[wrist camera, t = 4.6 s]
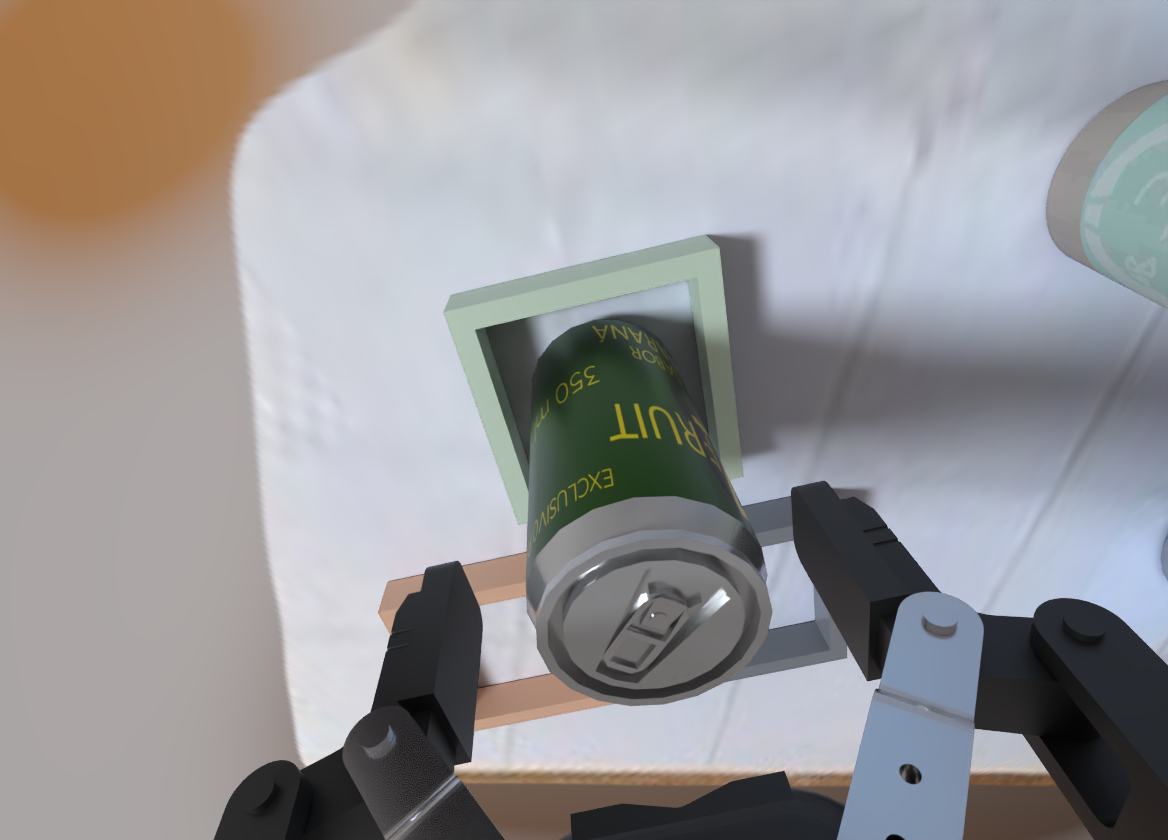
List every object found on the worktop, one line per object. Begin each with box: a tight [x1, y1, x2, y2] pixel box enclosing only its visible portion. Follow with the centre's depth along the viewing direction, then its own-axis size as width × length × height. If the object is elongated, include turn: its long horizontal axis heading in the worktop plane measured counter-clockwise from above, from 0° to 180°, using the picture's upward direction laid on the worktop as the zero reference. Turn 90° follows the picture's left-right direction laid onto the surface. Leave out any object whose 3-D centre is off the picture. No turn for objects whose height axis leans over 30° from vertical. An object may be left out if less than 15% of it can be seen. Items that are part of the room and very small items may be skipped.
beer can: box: [526, 320, 772, 706], centre depth 18 cm, size 5×5×12 cm
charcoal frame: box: [726, 497, 847, 682], centre depth 28 cm, size 9×9×2 cm
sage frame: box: [443, 235, 744, 525], centre depth 22 cm, size 9×9×2 cm
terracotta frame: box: [378, 553, 615, 731], centre depth 28 cm, size 9×9×2 cm
